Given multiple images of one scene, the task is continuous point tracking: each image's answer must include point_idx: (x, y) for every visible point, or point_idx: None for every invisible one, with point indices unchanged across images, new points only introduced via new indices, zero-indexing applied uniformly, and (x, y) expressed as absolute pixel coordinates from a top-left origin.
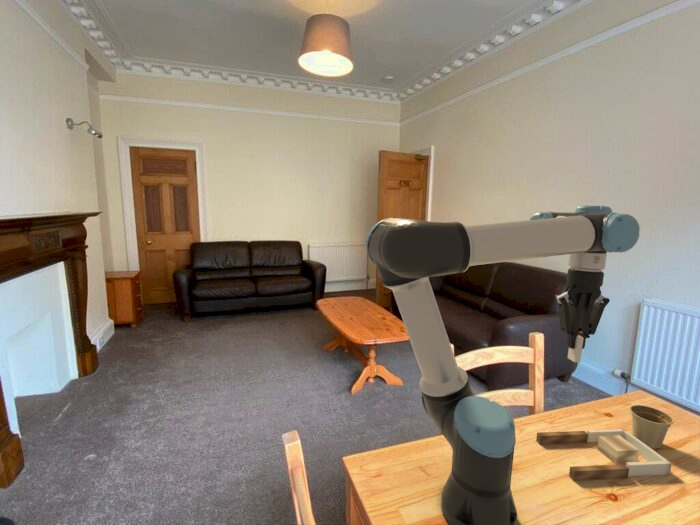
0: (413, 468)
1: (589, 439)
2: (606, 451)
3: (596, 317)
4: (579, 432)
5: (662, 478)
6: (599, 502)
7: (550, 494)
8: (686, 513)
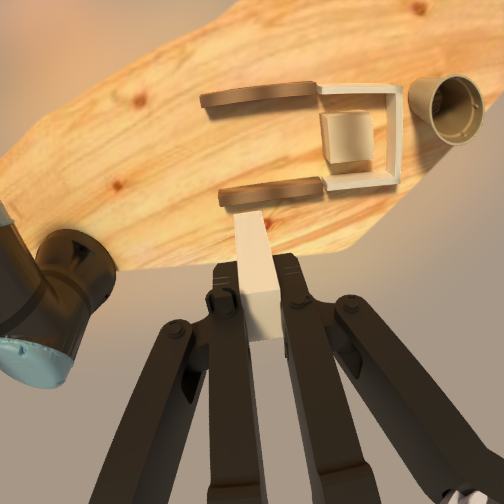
0: None
1: (318, 92)
2: (324, 135)
3: (385, 428)
4: (301, 88)
5: None
6: None
7: (171, 230)
8: (344, 243)
